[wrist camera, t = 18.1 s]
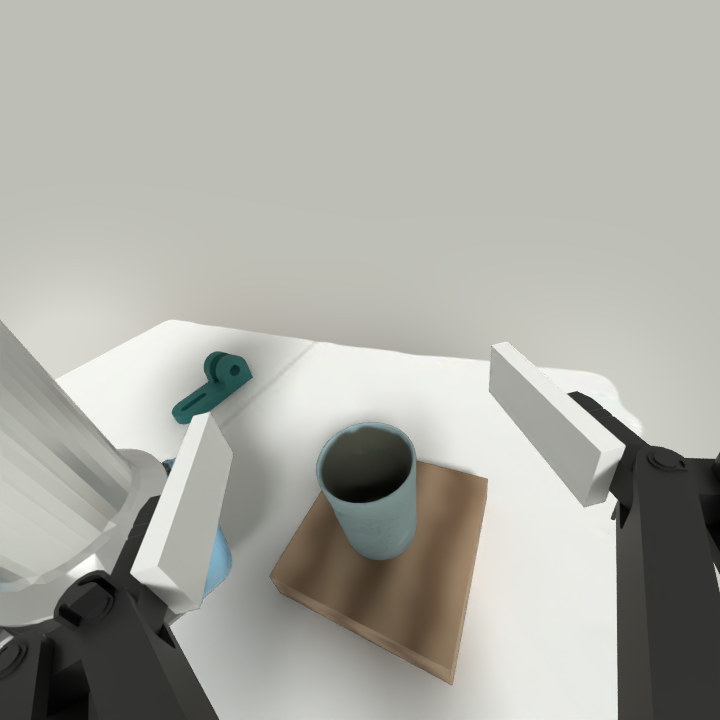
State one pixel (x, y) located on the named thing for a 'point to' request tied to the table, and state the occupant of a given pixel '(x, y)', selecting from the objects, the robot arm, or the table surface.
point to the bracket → (214, 385)
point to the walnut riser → (395, 572)
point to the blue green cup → (371, 487)
